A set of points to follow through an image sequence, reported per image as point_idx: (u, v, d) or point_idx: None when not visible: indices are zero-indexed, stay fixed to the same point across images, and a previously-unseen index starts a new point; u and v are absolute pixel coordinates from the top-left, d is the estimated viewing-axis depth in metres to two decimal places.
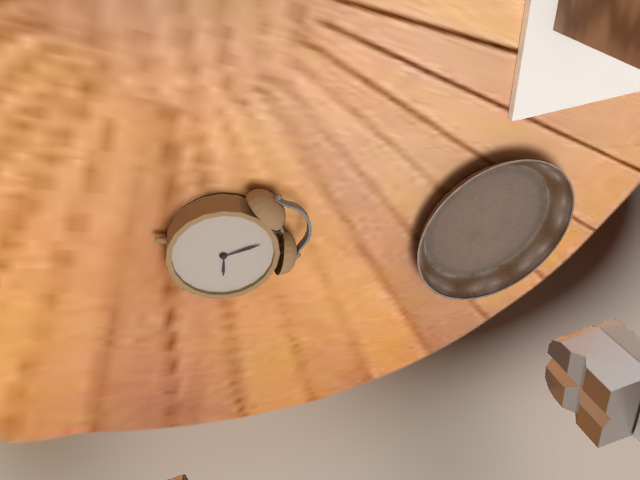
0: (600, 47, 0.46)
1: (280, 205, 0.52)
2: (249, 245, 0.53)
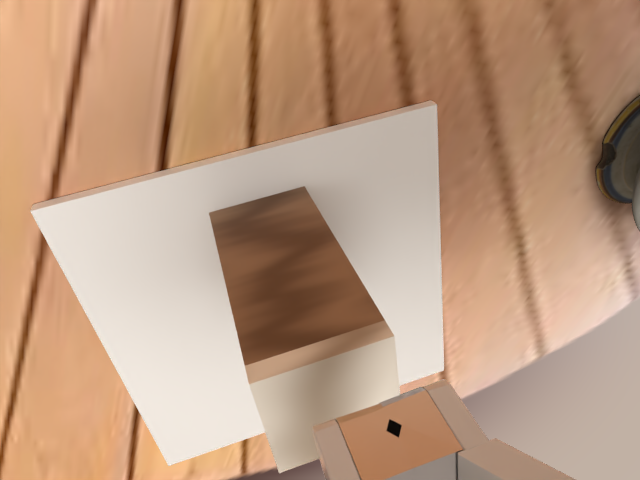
0: (229, 271, 0.26)
1: None
2: None
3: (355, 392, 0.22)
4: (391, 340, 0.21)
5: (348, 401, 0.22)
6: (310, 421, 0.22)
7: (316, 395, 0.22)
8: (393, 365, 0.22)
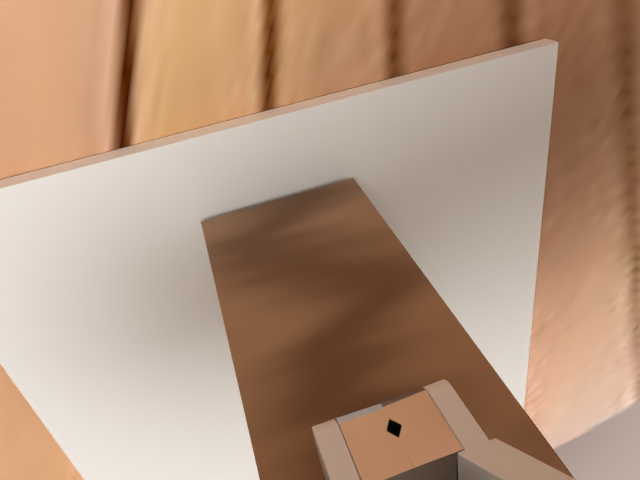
0: (241, 345, 0.14)
1: None
2: None
3: None
4: None
5: None
6: None
7: None
8: None
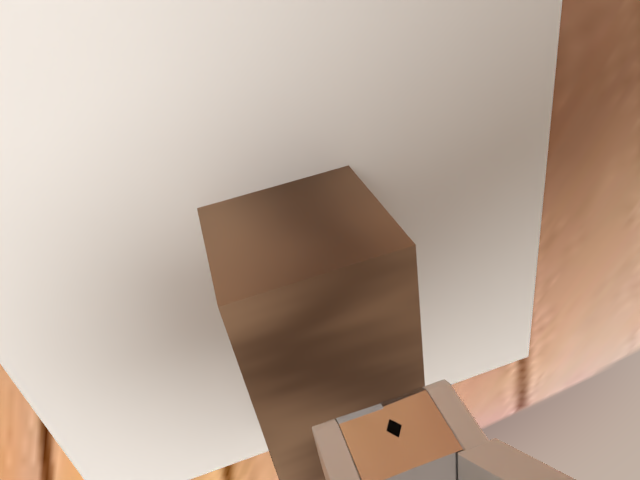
0: (276, 442, 0.18)
1: None
2: None
3: None
4: None
5: None
6: None
7: None
8: None
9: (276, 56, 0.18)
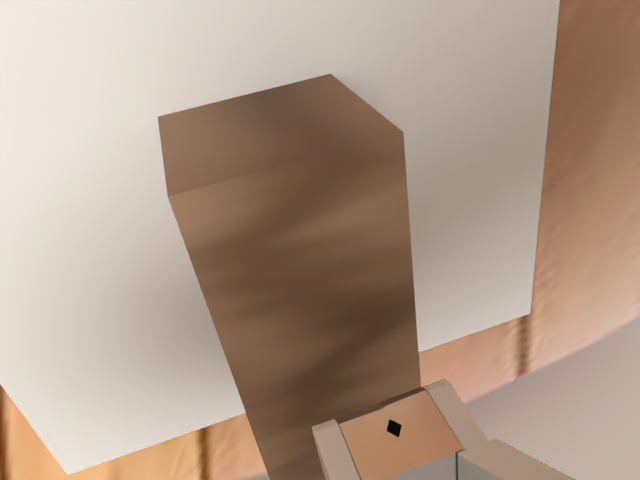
0: (245, 378, 0.16)
1: None
2: None
3: None
4: None
5: None
6: None
7: None
8: None
9: None
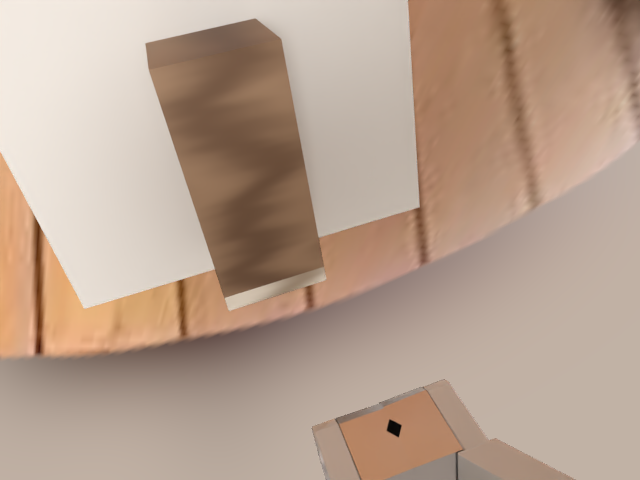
0: (198, 197, 0.27)
1: None
2: None
3: None
4: None
5: None
6: None
7: None
8: None
9: None
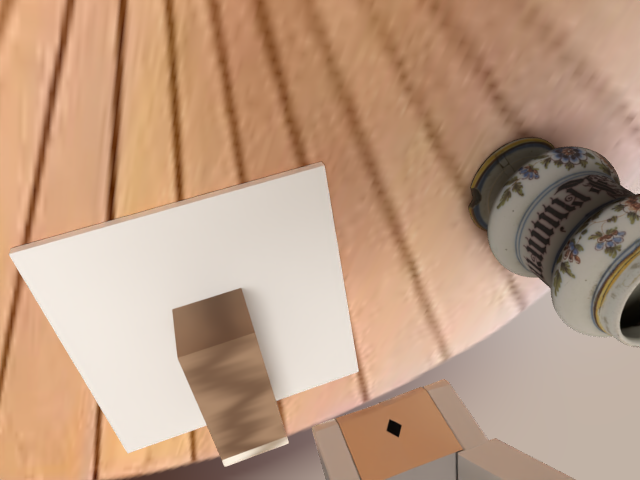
0: (205, 412, 0.43)
1: None
2: None
3: None
4: None
5: None
6: None
7: None
8: None
9: (204, 250, 0.42)
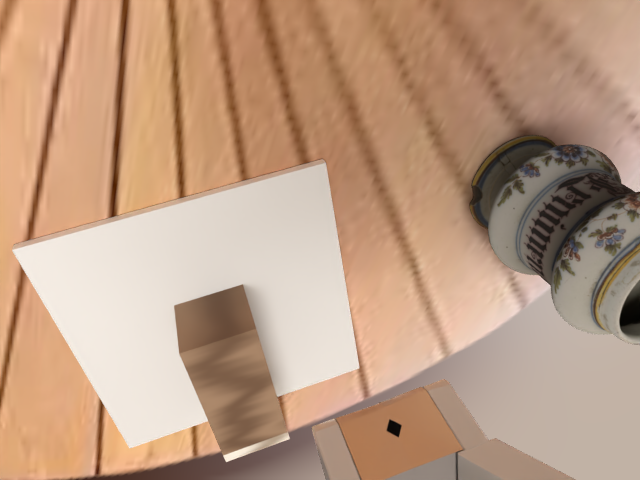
0: (207, 407, 0.43)
1: None
2: None
3: None
4: None
5: None
6: None
7: None
8: None
9: (206, 247, 0.43)
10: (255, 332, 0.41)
